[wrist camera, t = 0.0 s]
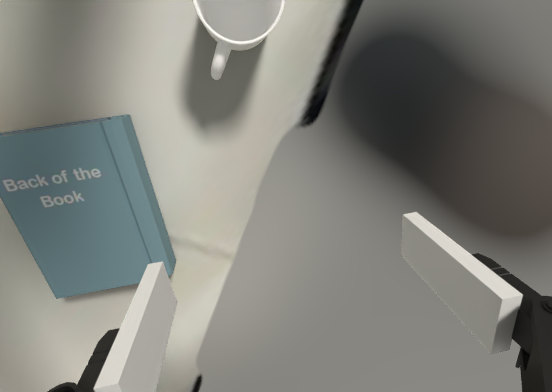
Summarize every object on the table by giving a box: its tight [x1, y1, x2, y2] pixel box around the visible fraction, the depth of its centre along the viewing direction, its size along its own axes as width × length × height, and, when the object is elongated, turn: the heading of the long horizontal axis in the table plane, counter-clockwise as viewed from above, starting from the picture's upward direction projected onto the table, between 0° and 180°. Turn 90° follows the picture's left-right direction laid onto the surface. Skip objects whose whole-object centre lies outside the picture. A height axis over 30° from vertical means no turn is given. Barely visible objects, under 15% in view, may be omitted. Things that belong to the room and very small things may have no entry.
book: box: [0, 115, 176, 299], centre depth 40 cm, size 23×16×5 cm
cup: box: [192, 0, 285, 80], centre depth 31 cm, size 8×12×10 cm
